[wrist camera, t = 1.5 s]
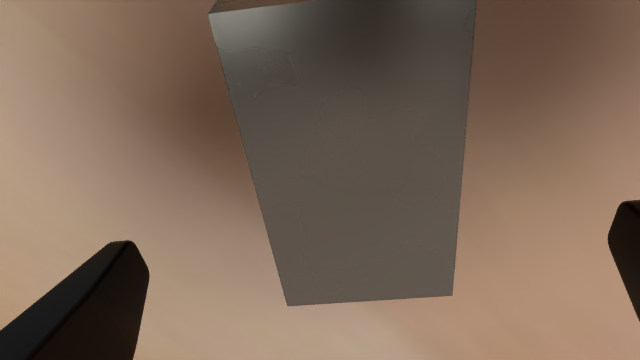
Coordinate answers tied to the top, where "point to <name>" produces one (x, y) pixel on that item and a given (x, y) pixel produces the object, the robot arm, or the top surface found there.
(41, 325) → the robot arm
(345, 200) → the block
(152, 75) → the top surface
